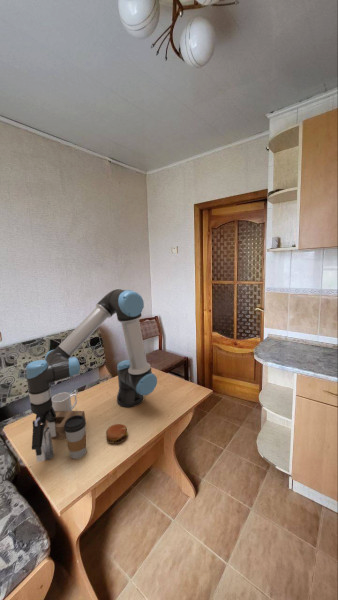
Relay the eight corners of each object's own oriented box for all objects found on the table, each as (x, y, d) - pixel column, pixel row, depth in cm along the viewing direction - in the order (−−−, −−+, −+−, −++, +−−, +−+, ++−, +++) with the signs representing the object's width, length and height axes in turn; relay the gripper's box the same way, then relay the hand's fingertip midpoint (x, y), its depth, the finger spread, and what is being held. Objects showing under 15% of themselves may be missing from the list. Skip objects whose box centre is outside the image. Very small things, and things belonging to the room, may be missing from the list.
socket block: (85, 421, 123) (84, 410, 122) (75, 438, 112) (74, 426, 111) (54, 422, 124) (52, 411, 123) (41, 439, 112) (39, 427, 111)
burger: (104, 435, 113) (103, 425, 113) (123, 427, 118) (122, 419, 117) (109, 449, 105) (108, 439, 104) (130, 440, 109) (130, 431, 108)
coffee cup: (71, 447, 107) (67, 415, 104) (90, 445, 107) (87, 413, 105) (64, 462, 98) (60, 428, 96) (86, 460, 99) (82, 426, 97)
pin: (55, 453, 104) (51, 427, 102) (51, 460, 100) (47, 433, 98) (46, 453, 104) (43, 427, 102) (42, 460, 100) (38, 433, 98)
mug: (57, 424, 122) (55, 403, 121) (51, 416, 129) (48, 397, 127) (81, 413, 130) (78, 394, 129) (74, 406, 137) (72, 388, 135)
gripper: (42, 385, 110) (48, 428, 113) (16, 420, 85) (24, 474, 89) (60, 383, 111) (65, 426, 114) (39, 417, 86) (46, 471, 89)
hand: (47, 447), depth 101 cm, fingers open, 13 cm apart
